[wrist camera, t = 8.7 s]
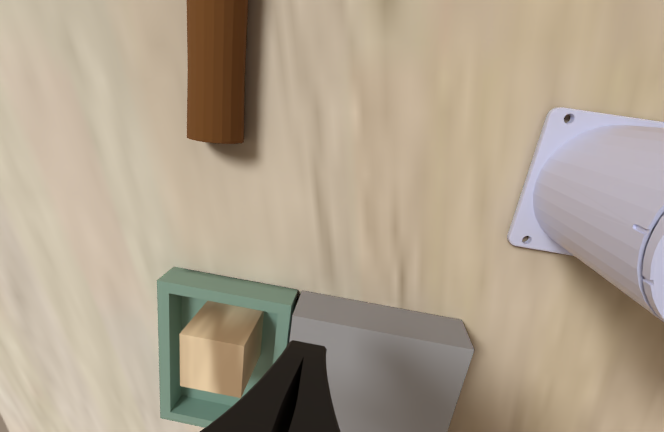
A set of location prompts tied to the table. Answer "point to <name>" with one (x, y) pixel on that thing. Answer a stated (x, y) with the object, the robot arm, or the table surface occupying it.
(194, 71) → the hammer
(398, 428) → the slate plate
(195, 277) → the box
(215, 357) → the maple block
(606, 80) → the table surface
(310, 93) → the table surface
